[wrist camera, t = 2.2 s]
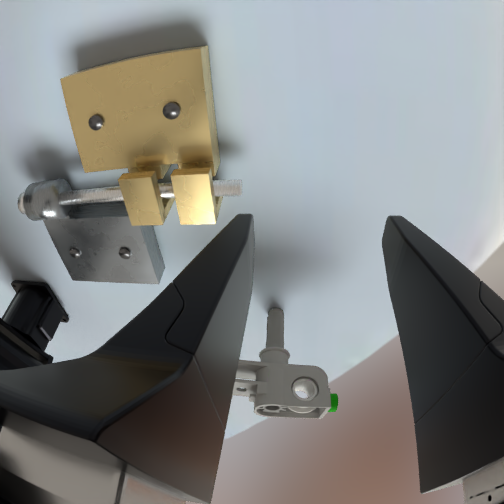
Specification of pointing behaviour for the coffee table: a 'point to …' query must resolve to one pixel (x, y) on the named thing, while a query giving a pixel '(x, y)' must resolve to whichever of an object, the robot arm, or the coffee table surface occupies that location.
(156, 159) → the loose leaf
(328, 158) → the coffee table surface
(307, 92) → the coffee table surface
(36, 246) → the coffee table surface
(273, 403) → the mechanical component
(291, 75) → the coffee table surface
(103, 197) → the fixed leaf
